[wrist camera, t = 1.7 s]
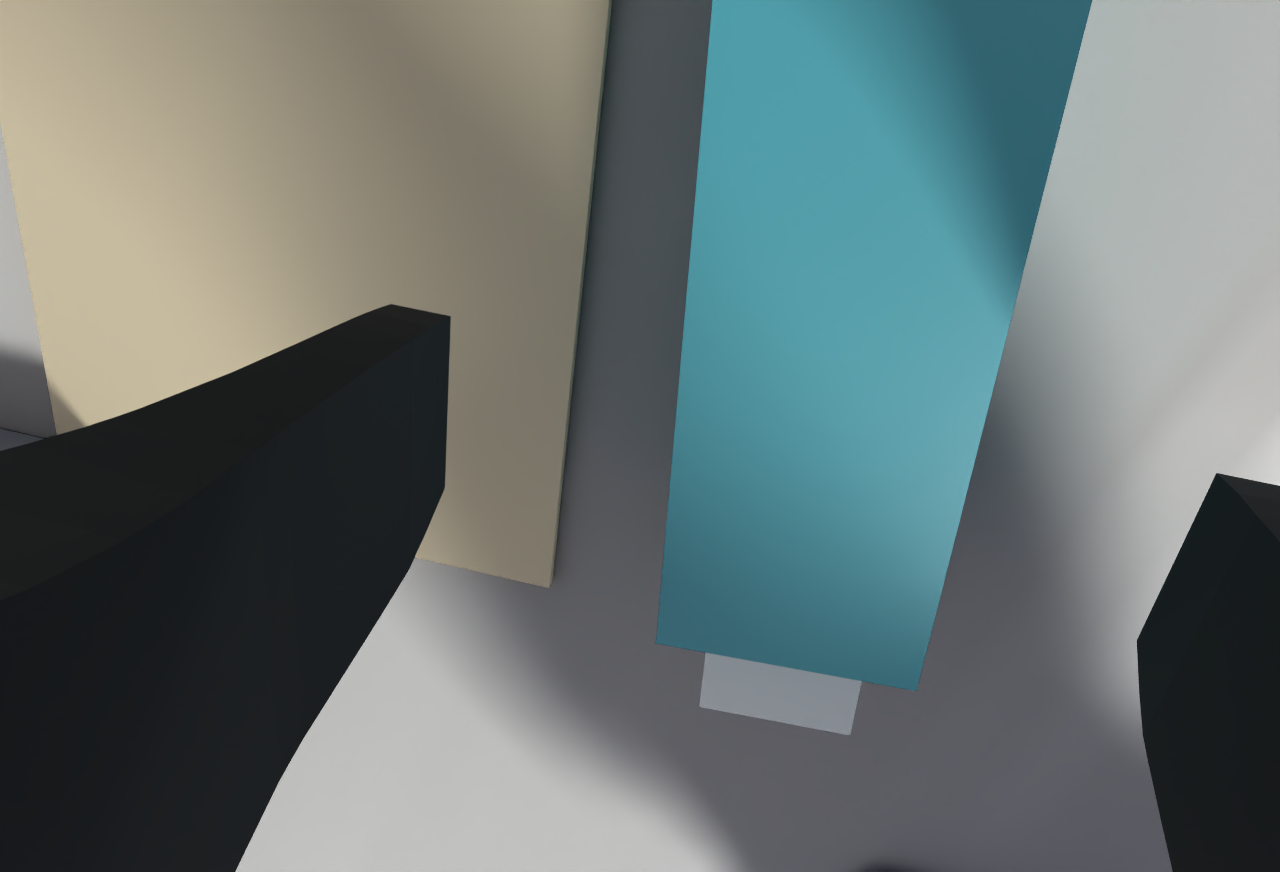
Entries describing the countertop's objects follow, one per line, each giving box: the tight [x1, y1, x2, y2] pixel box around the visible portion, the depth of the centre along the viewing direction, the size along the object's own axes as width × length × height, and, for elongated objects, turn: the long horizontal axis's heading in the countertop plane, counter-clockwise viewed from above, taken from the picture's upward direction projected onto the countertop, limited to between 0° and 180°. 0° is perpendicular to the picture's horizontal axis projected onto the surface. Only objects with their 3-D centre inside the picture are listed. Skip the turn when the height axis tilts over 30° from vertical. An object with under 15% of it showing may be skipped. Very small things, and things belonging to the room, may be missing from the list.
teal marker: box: [656, 0, 1092, 735], centre depth 15 cm, size 3×11×4 cm, turn 177°
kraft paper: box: [0, 0, 612, 588], centre depth 18 cm, size 9×12×1 cm
